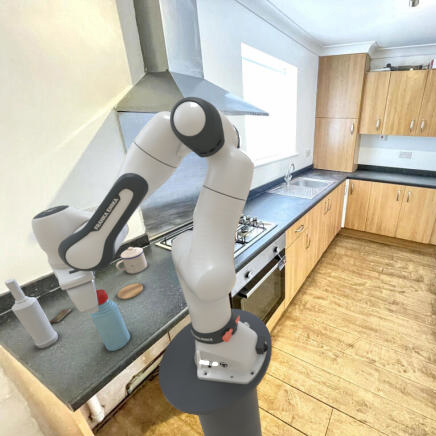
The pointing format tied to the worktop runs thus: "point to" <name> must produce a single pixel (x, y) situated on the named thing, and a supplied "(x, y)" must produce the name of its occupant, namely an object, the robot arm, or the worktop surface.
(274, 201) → the worktop surface
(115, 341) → the water bottle
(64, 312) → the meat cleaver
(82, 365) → the worktop surface
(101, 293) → the cap
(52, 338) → the bottle
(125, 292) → the coaster
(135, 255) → the teacup with lid
